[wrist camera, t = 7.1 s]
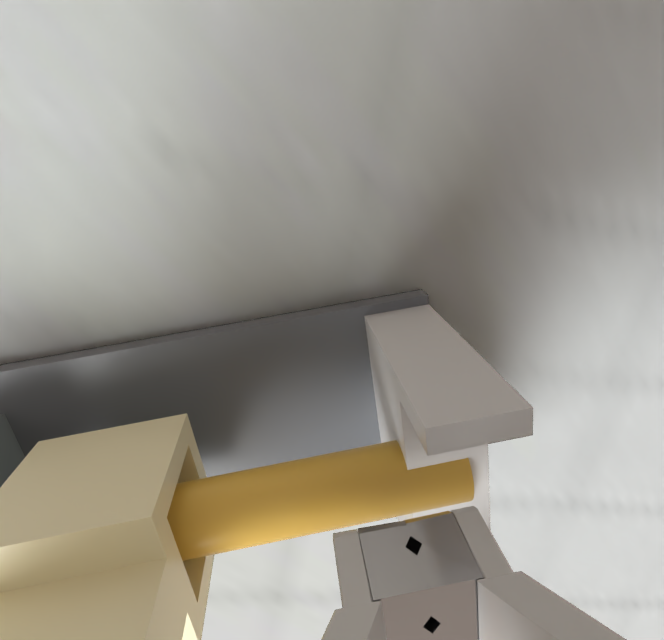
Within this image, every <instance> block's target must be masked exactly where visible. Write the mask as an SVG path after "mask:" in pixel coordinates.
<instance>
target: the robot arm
mask: <svg viewBox="0 0 664 640" xmlns="http://www.w3.org/2000/svg"><path fill="white" fill-rule="evenodd" d="M333 543H334V550H335V557H336V565H337V572H338V579H339V586H340V593H341V600H342V607H343V608H341V609H337V610H335V611H334V613H333V615H332V618H331V620H330V622H329V624H328V626H327V628H326V631H325V633H324V635H323V637H322V639H321V640H626V639H625V638H623V637H622V636H620V635H619V634H617V633H615V632H614V631H612V630H611V629H609V628H608V627H606V626H605V625H603V624H602V623H600V622H599V621H597V620H595V619H594V618H592V617H591V616H589V615H588V614H586V613H585V612H583V611H582V610H580V609H579V608H577V607H576V606H574V605H572V604H571V603H569V602H568V601H566V600H565V599H563V598H562V597H560V596H559V595H557V594H556V593H554V592H553V591H551V590H549V589H548V588H546V587H545V586H543V585H542V584H540V583H539V582H537V581H536V580H534V579H533V578H531V577H529V576H528V575H526V574H525V573H523V572H522V571H519V572H513V570H512V569H511V567H510V565H509V563H508V561H507V560H506V558H505V556H504V554H503V553H502V551H501V549H500V547H499V545H498V544H497V542H496V540H495V538H494V537H493V535H492V533H491V531H490V530H489V528H488V526H487V524H486V522H485V521H484V519H483V517H482V515H481V514H480V512H479V510H478V509H477V508H476V507H475V506H469V507H464V508H460V509H455V510H451V511H445V512H440V513H435V514H431V515H426V516H421V517H416V518H412V519H407V520H404V521H399V522H393V523H388V524H382V525H376V526H370V527H364V528H359V529H358V531H357V529H356V530H350V531H344V532H338V533H333Z"/></svg>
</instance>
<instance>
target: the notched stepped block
mask: <svg viewBox="0 0 664 640" xmlns="http://www.w3.org/2000/svg"><path fill="white" fill-rule="evenodd" d="M202 478H207V476H206V473H205V470H204V467H203V463H202V460H201V457H200V454H199V450H198V447H197V444H196V441H195V437H194V434H193V431H192V428H191V424H190V421H189V418H188V415H187V413H186V414H180V415H175V416H170V417H165V418H159V419H154V420H149V421H143V422H138V423H133V424H128V425H122V426H117V427H112V428H106V429H101V430H96V431H91V432H85V433H80V434H75V435H70V436H64V437H59V438H54V439H48V440H43V441H38V443H37V444H36V445H35V446H34V447H33V449H32V450H31V451H30V452H29V453H28V455H27V456H26V457H25V458H24V459H23V461H22V462H21V463H20V464H19V466H18V467H17V468H16V469H15V470H14V472H13V473H12V474H11V475H10V476H9V478H8V479H7V480H6V481H5V482H4V484H3V485H2V486H1V487H0V640H201V637H202V631H203V624H204V618H205V611H206V605H207V598H208V592H209V586H210V579H211V573H212V566H213V560H214V555H209V556H204V557H199V558H194V559H190V560H185V561H182V558H181V555H180V553H179V550H178V547H177V544H176V541H175V539H174V536H173V533H172V530H171V528H170V525H169V522H168V519H167V515H168V512H169V508H170V505H171V502H172V498H173V495H174V492H175V489H176V485H177V483H181V482H186V481H192V480H197V479H202Z"/></svg>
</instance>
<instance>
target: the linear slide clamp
mask: <svg viewBox="0 0 664 640" xmlns="http://www.w3.org/2000/svg"><path fill="white" fill-rule="evenodd" d="M186 413H187V415H188V418H189V421H190V424H191V428H192V431H193V434H194V437H195V441H196V444H197V447H198V450H199V454H200V457H201V460H202V463H203V467H204V470H205V473H206V476H207V478H202V479H197V480H192V481H186V482H181V483H177V485H176V489H175V492H174V495H173V498H172V502H171V505H170V508H169V512H168V515H167V519H168V522H169V525H170V528H171V530H172V533H173V536H174V539H175V541H176V544H177V547H178V550H179V553H180V555H181V558H182V561H185V560H190V559H194V558H199V557H204V556H209V555H214V554H219V553H223V552H228V551H233V550H238V549H243V548H248V547H252V546H257V545H262V544H267V543H272V542H276V541H281V540H286V539H291V538H296V537H301V536H305V535H310V534H315V533H320V532H325V531H330V530H334V529H339V528H344V527H349V526H354V525H359V524H363V523H368V522H373V521H378V520H383V519H388V518H392V517H398V520H399V521H404V520H407V519H412V518H416V517H421V516H426V515H431V514H435V513H440V512H445V511H451V510H455V509H460V508H464V507H469V506H475V507H476V508H477V509H478V510H479V512H480V514H481V515H482V517H483V519H484V521H485V522H486V524H487V526H488V528H489V530H490V531H491V528H490V495H489V462H488V444H491V443H496V442H501V441H506V440H511V439H516V438H521V437H526V436H531V435H533V407H532V406H531V405H530V404H529V403H528V402H527V401H526V400H525V399H524V398H523V397H522V396H521V395H520V394H519V393H518V392H517V391H516V390H515V389H514V388H513V387H512V386H511V385H510V384H509V383H508V382H507V381H506V380H505V379H504V378H503V377H502V376H501V375H500V374H499V373H498V372H497V371H496V370H495V369H494V368H493V367H492V366H491V365H490V364H489V363H488V362H487V361H486V360H485V359H484V358H483V357H482V356H481V355H480V354H479V353H478V352H477V351H476V350H475V349H474V348H473V347H472V346H471V345H469V344H468V343H467V342H466V341H465V340H464V339H463V338H462V337H461V336H460V335H459V334H458V333H457V332H456V331H455V330H454V329H453V328H452V327H451V326H450V325H449V324H448V323H447V322H446V321H445V320H444V319H443V318H442V317H441V316H440V315H439V314H438V313H437V312H436V311H435V310H434V309H433V308H432V307H431V306H430V305H429V300H428V294H427V293H426V292H424V291H423V290H422V289H421V290H416V291H410V292H405V293H399V294H394V295H388V296H382V297H377V298H371V299H366V300H360V301H355V302H349V303H344V304H338V305H332V306H327V307H321V308H316V309H310V310H305V311H299V312H293V313H288V314H282V315H277V316H271V317H266V318H260V319H254V320H249V321H243V322H238V323H232V324H227V325H221V326H216V327H210V328H204V329H199V330H193V331H188V332H182V333H177V334H171V335H165V336H160V337H154V338H149V339H143V340H138V341H132V342H126V343H121V344H115V345H110V346H104V347H99V348H93V349H88V350H82V351H76V352H71V353H65V354H60V355H54V356H49V357H43V358H37V359H32V360H26V361H21V362H15V363H10V364H4V365H0V487H1V486H2V485H3V484H4V482H5V481H6V480H7V479H8V478H9V476H10V475H11V474H12V473H13V472H14V470H15V469H16V468H17V467H18V466H19V464H20V463H21V462H22V461H23V459H24V458H25V457H26V456H27V455H28V453H29V452H30V451H31V450H32V449H33V447H34V446H35V445H36V444H37V443H38V441H43V440H48V439H54V438H59V437H64V436H70V435H75V434H80V433H85V432H91V431H96V430H101V429H106V428H112V427H117V426H122V425H128V424H133V423H138V422H143V421H149V420H154V419H159V418H165V417H170V416H175V415H180V414H186Z"/></svg>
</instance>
